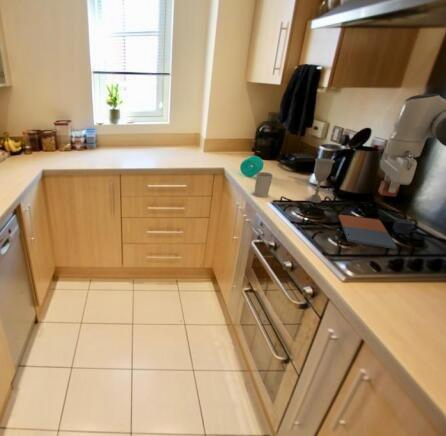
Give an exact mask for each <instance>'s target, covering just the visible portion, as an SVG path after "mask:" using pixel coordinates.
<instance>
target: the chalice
mask: <svg viewBox="0 0 446 436" xmlns="http://www.w3.org/2000/svg"><path fill="white" fill-rule="evenodd" d="M314 161H315V165H314V168H313V175H314V178H315V181H316V182H317V184H316V188H315V189H314V190H315V193H314V194H311V195H310V196H309V198H308V201H309V202H312V203H316V204H317V203H319V204H320V203H322V198H321V195H320V194H319V192H320V191H321V190H320V187H321V183H322V182H325V180H326V179H327V178H328V177H329V176H330V174H331V173H332V170H333V169H332V168H333V165H334V164H335V162H336V161H335V159H330V158H319V157H318V158H315V159H314Z"/></svg>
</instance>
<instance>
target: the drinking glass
mask: <svg viewBox="0 0 446 436" xmlns="http://www.w3.org/2000/svg"><path fill="white" fill-rule="evenodd" d="M272 179H273V173H271V172H267V171H260V172H258V173H257V174H256V175H255V184H254V193H253V195H254V196H256V197H258V198H267V197H268V196H269V191H270V186H271V183H272Z"/></svg>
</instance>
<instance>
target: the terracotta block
mask: <svg viewBox="0 0 446 436" xmlns="http://www.w3.org/2000/svg"><path fill="white" fill-rule="evenodd" d="M390 184H391V181H385V180H381V182H380V185H379V188H378V191H377V192H378V193H379V194H380V195H381V196H385V197H393V198H394V197H397V195H398V192H399V190H400V187H401V184H400V185H399V186H398V187H397V189H396V191H395V193H389V192H388V187H389V186H390Z"/></svg>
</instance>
